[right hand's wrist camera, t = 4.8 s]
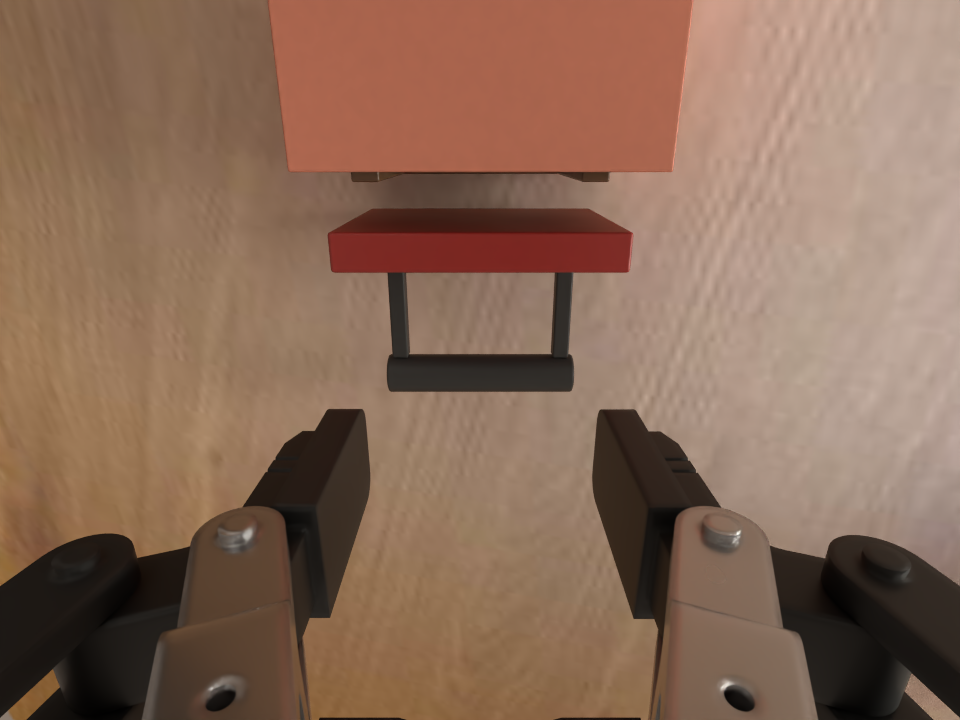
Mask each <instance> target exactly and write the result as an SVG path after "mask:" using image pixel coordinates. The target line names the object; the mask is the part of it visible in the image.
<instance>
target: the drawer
mask: <svg viewBox="0 0 960 720" xmlns="http://www.w3.org/2000/svg"><path fill="white" fill-rule="evenodd" d="M401 174H560V175H564V176H567V177H570V178H573V179H576V180H579V181H583V182H608V181H609V178H610V172H351V179H352V181H353V182H379V181H382V180H385V179H388V178H391V177H394V176H397V175H401ZM328 243H329V253H330V263H331V270H332V272H334V273H388V287H389V303H390V320H391V336H392V352H393V354H391V355H390V356H389V358H388V363H387V384H388V388H389V391H391V392H570V391H571V390H572V388H573V383H574V364H573V358H572V356H571V355H570V354H568V349H569V333H570V317H571V301H572V285H573V273H626V272H629V270H630V263H631V253H632V243H633V233H632V232H630V231H628V230H626V229H624V228H623V227H621V226H619V225H617V224H615V223H614V222H612V221H610V220H608V219H606V218H604V217H603V216H601V215H599V214H597V213H595V212H594V211H592V210H590V209H371V210H369V211H367V212H366V213H364V214H362V215H360V216H358V217H357V218H355V219H353V220H351V221H349V222H347V223H346V224H344V225H342V226H340V227H338V228H337V229H335V230H333V231H331V232H329V233H328ZM406 273H555V281H554V301H553V321H552V341H551V353H552V354H409V353H410V344H409V324H408V304H407V284H406Z"/></svg>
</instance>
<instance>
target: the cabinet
mask: <svg viewBox="0 0 960 720" xmlns="http://www.w3.org/2000/svg"><path fill="white" fill-rule="evenodd" d="M268 8H269V16H270V24H271V32H272V41H273V49H274V57H275V65H276V74H277V82H278V90H279V99H280V107H281V115H282V123H283V132H284V140H285V148H286V157H287V165H288V171H289V172H672V171H673V165H674V157H675V149H676V141H677V132H678V124H679V116H680V108H681V99H682V91H683V83H684V75H685V66H686V58H687V50H688V42H689V33H690V25H691V17H692V8H693V0H268Z"/></svg>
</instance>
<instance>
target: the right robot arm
mask: <svg viewBox="0 0 960 720" xmlns="http://www.w3.org/2000/svg"><path fill="white" fill-rule="evenodd" d="M592 481H593V493H594V498H595V502H596V505H597V508H598V511H599V514H600V517H601V520H602V523H603V526H604V529H605V533H606V536H607V539H608V542H609V545H610V548H611V551H612V554H613V557H614V560H615V563H616V566H617V569H618V572H619V575H620V578H621V581H622V584H623V587H624V590H625V593H626V596H627V600H628V603H629V606H630V609H631V612H632V615H633V618H634V619H655V622H656V624H657V627H658V634H657V641H656V647H655V656H654V667H653V677H652V687H651V697H650V708H649V718H648V720H933V719H932V718H931V717H930V716H929V715H928V714H927V713H926V712H925V711H924V710H923V709H922V708H921V707H920V706H919V705H918V704H917V703H916V702H915V701H914V700H913V699H912V698H911V697H910V696H908V695H907V694H906V693H905V692H904V691H905V688H906V686H907V683H908V681H909V678H910V676H911V673H912V674H913V675H914V676H916V677H917V678H918V679H919V680H920V681H921V682H922V683H923V684H924V685H925V686H926V687H927V688H928V689H930V690H931V691H932V692H933V693H934V694H935V695H936V696H937V697H938V698H939V699H940V700H941V701H942V702H944V703H945V704H946V705H947V706H948V707H949V708H950V709H951V710H952V711H953V712H954V713H955V714H956V715H958V716H959V717H960V586H959V585H957V584H956V583H955V582H953V581H952V580H950V579H949V578H948V577H946V576H945V575H943V574H942V573H941V572H939V571H938V570H936V569H935V568H934V567H932V566H931V565H929V564H928V563H926V562H925V561H924V560H922V559H921V558H919V557H918V556H916V555H915V554H913V553H911V552H909V551H908V550H906V549H904V548H902V547H899V546H897V545H895V544H892V543H890V542H887V541H884V540H880V539H877V538H872V537H868V536H860V535H847V536H841V537H838V538H836V539H834V540H833V541H832V542H831V543H830V545H829V547H828V551H827V554H826V558H820V557H815V556H810V555H806V554H801V553H796V552H791V551H786V550H782V549H778V548H775V547H772V546H770V545H769V541H768V538H767V536H766V534H765V533H764V532H763V531H762V529H761V528H760V527H759V526H757V525H756V524H755V523H754V522H752V521H751V520H749V519H748V518H746V517H744V516H742V515H740V514H738V513H736V512H733V511H730V510H727V509H723V508H721V507H720V505H719V504H718V502H717V501H716V499H715V498H714V496H713V495H712V493H711V492H710V490H709V489H708V487H707V486H706V484H705V483H704V481H703V480H702V478H701V477H700V475H699V474H698V473H696V469H695V468H694V467H693V465H692V464H691V462H690V461H688V458H687V456H686V455H685V453H684V452H683V450H682V449H681V447H680V446H679V444H678V443H676V442H675V441H673V440H672V439H670V438H669V437H667V436H666V435H665V434H663V433H662V432H648V430H647V428H646V427H645V425H644V423H643V422H642V420H641V418H640V417H639V415H638V413H637V412H636V410H600V411H599V413H598V417H597V427H596V438H595V450H594V461H593V474H592ZM369 490H370V464H369V452H368V441H367V429H366V418H365V413H364V411H363V409H328V410H327V411H326V413H325V415H324V416H323V418H322V420H321V421H320V423H319V425H318V426H317V428H316V430H315V431H302V432H301V433H299V434H298V435H296V436H295V437H293V438H292V439H291V440H289V441H288V442H286V443H285V444H284V446H283V447H282V449H281V450H280V452H279V453H278V455H277V456H276V460H274V461H273V462H272V464H271V465H270V467H269V468H268V472H266V473H265V474H264V476H263V477H262V479H261V480H260V482H259V483H258V485H257V486H256V488H255V489H254V491H253V492H252V494H251V495H250V497H249V498H248V500H247V501H246V503H245V504H244V506H243V507H242V508H237V509H233V510H230V511H227V512H224V513H222V514H220V515H218V516H216V517H214V518H212V519H211V520H209V521H208V522H206V523H205V524H204V525H203V526H201V527H200V528H199V529H198V531H197V532H196V533H195V534H194V536H193V538H192V541H191V545H190V546H189V547H186V548H182V549H178V550H173V551H169V552H164V553H159V554H154V555H150V556H145V557H140V558H137V556H136V552H135V549H134V545H133V543H132V541H131V540H130V539H129V538H127V537H125V536H123V535H119V534H97V535H92V536H87V537H83V538H80V539H76V540H74V541H71V542H68V543H66V544H64V545H61V546H59V547H57V548H55V549H54V550H52V551H50V552H48V553H47V554H45V555H44V556H42V557H41V558H39V559H38V560H36V561H35V562H34V563H32V564H31V565H29V566H28V567H27V568H25V569H24V570H22V571H21V572H19V573H18V574H17V575H15V576H14V577H12V578H11V579H10V580H8V581H7V582H5V583H4V584H3V585H1V586H0V717H1V716H2V715H4V714H5V713H6V712H7V711H8V710H9V709H10V708H11V707H12V706H13V705H14V704H15V703H16V702H18V701H19V700H20V699H21V698H22V697H23V696H24V695H25V694H26V693H27V692H28V691H29V690H30V689H32V688H33V687H34V686H35V685H36V684H37V683H38V682H39V681H40V680H41V679H42V678H43V677H44V676H46V675H47V674H48V673H49V672H50V671H51V670H52V669H53V670H54V673H55V675H56V678H57V680H58V683H59V685H60V688H59V689H58V690H57V691H56V692H55V693H54V694H53V695H52V696H50V697H49V698H48V699H47V700H46V701H45V702H44V703H43V704H42V705H41V706H40V707H39V708H38V709H37V710H36V711H35V712H34V713H33V714H32V715H31V716H30V717H29V718H28V719H27V720H312V718H311V708H310V697H309V687H308V677H307V667H306V656H305V647H304V641H303V634H304V632H305V629H306V626H307V623H308V621H309V618H330V616H331V613H332V610H333V607H334V603H335V600H336V597H337V594H338V591H339V588H340V585H341V582H342V579H343V575H344V572H345V569H346V566H347V563H348V560H349V557H350V554H351V550H352V547H353V544H354V541H355V538H356V535H357V532H358V529H359V526H360V522H361V519H362V516H363V513H364V510H365V507H366V504H367V501H368V496H369ZM319 720H405V719H401V718H319ZM555 720H641V718H559V719H555Z"/></svg>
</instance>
